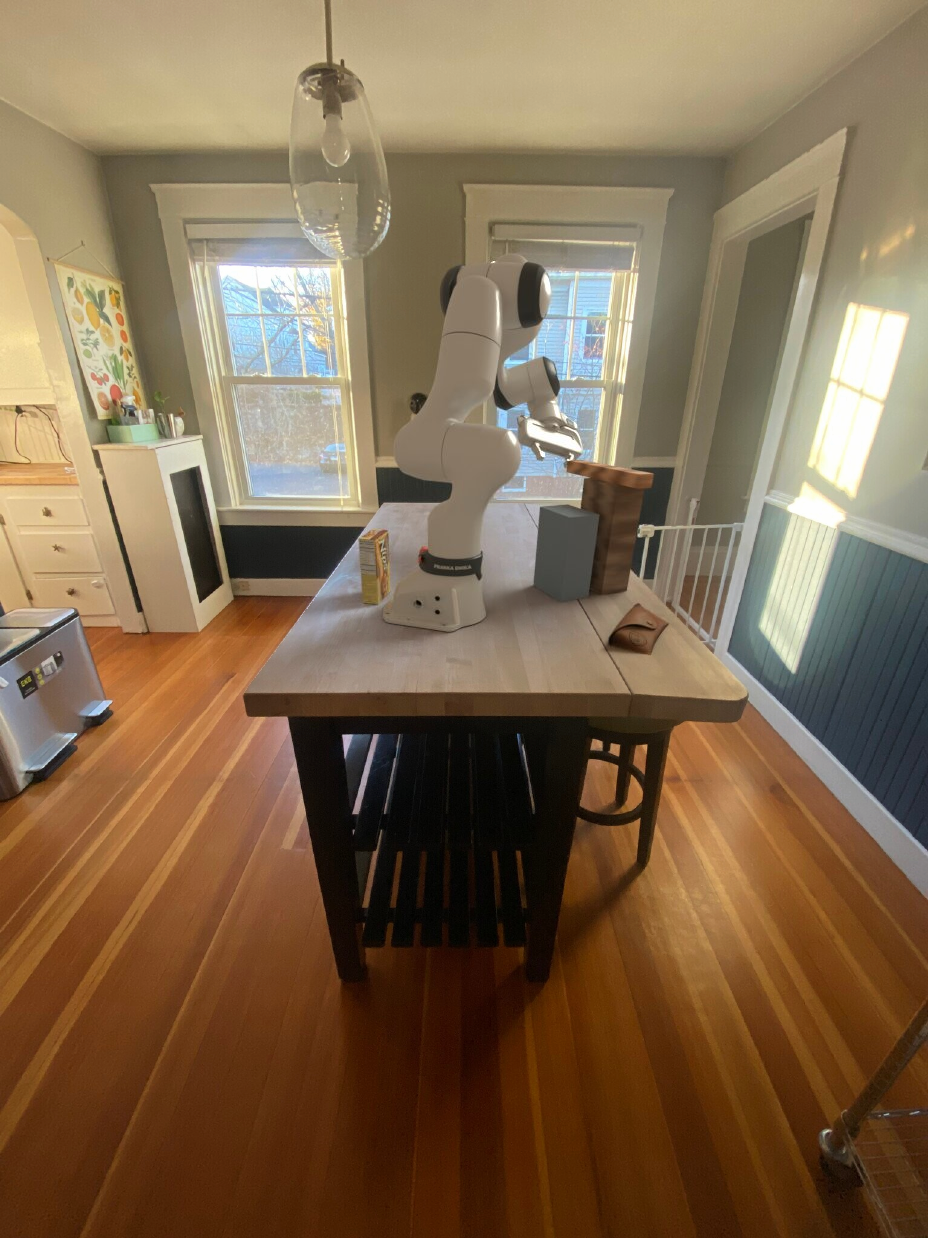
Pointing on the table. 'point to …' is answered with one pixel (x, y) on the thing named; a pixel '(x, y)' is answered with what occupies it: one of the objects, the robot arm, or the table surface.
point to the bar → (611, 474)
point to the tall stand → (612, 532)
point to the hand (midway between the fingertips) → (555, 463)
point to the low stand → (565, 551)
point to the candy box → (374, 565)
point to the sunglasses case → (638, 630)
